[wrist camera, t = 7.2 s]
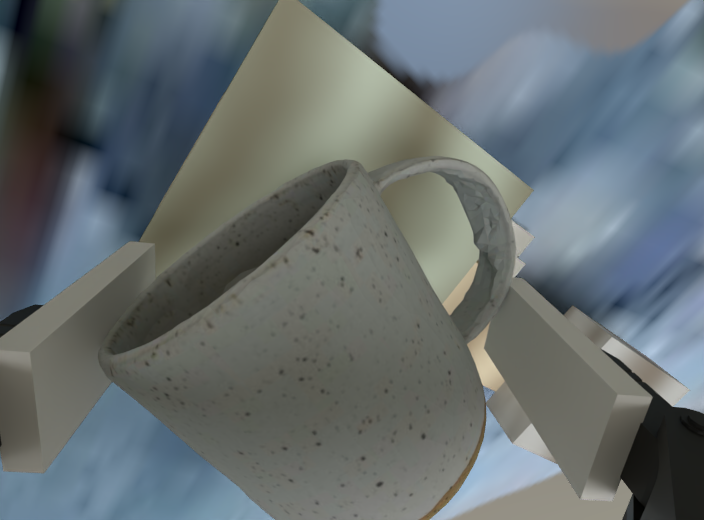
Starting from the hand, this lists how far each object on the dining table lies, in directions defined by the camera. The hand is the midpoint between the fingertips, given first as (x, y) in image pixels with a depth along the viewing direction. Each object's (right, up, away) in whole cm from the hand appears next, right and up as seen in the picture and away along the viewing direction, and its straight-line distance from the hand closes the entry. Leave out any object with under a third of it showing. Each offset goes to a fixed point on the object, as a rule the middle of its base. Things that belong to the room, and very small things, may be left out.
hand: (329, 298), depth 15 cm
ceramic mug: (+1, +1, +1) cm, 1 cm away
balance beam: (+7, -1, +12) cm, 14 cm away
